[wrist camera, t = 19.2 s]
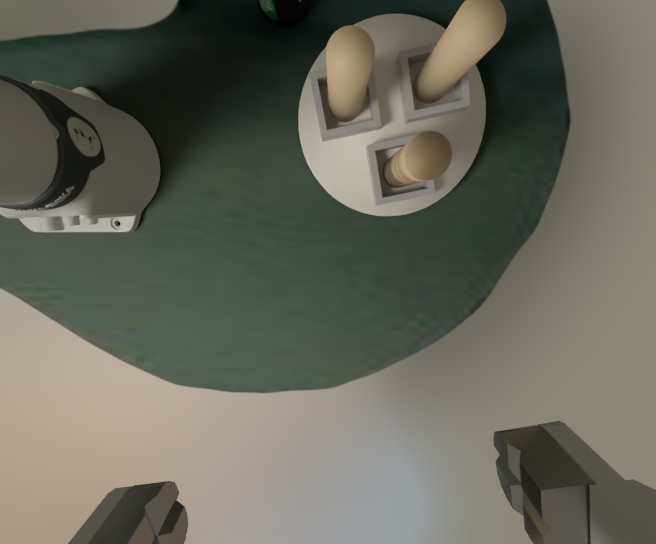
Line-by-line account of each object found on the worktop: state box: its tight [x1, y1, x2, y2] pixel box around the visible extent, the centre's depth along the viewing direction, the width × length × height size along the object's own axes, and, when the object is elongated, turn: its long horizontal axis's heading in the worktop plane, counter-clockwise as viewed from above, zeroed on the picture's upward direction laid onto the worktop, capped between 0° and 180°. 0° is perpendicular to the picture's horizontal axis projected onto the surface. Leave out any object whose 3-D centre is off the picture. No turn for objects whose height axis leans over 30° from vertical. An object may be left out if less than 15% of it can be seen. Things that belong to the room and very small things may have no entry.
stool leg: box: [382, 131, 452, 188], centre depth 33 cm, size 4×4×13 cm
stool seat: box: [298, 0, 506, 216], centre depth 33 cm, size 23×23×16 cm
